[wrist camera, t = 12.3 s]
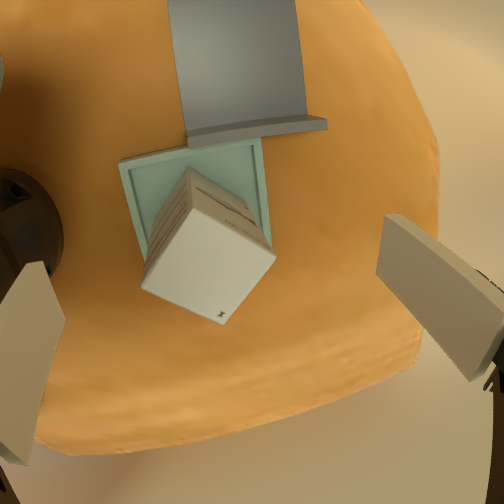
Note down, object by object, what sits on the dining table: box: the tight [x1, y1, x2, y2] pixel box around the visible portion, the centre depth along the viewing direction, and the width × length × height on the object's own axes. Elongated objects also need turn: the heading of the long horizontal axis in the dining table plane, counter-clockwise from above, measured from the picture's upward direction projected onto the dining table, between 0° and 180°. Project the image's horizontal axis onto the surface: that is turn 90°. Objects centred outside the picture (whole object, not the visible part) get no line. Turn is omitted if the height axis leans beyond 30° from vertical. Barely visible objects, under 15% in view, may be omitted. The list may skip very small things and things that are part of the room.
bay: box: [167, 0, 328, 149], centre depth 25 cm, size 12×17×5 cm
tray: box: [118, 137, 273, 261], centre depth 33 cm, size 14×14×2 cm
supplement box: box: [140, 166, 277, 325], centre depth 28 cm, size 7×7×13 cm
